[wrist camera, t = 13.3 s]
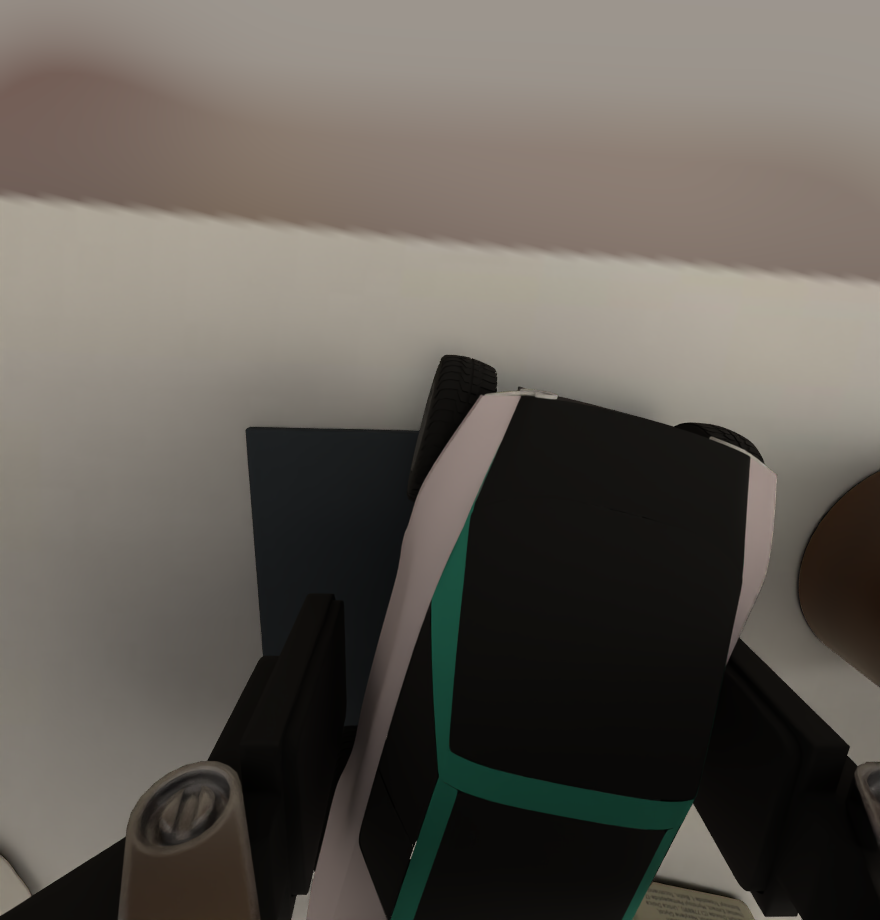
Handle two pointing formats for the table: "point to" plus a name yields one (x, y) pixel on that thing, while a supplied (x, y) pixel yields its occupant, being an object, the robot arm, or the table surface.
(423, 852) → the toy car
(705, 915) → the box
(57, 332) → the table surface
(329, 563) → the mat
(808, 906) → the robot arm
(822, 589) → the pepper mill
